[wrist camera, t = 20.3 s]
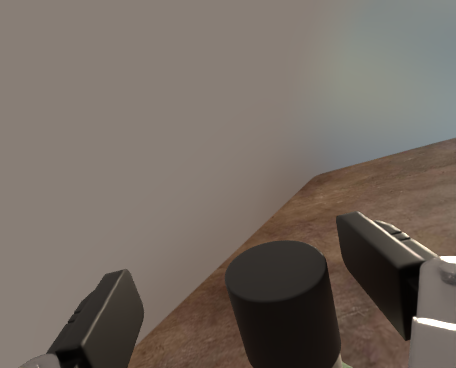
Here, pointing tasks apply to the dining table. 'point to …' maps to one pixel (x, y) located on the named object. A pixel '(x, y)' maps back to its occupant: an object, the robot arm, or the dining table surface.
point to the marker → (285, 306)
